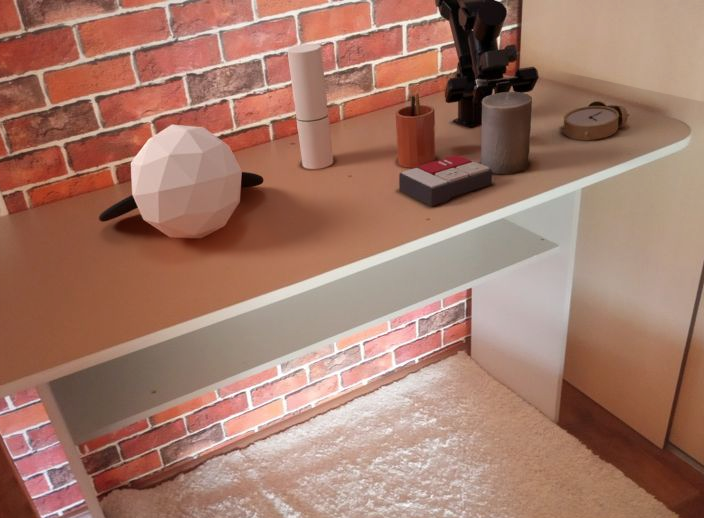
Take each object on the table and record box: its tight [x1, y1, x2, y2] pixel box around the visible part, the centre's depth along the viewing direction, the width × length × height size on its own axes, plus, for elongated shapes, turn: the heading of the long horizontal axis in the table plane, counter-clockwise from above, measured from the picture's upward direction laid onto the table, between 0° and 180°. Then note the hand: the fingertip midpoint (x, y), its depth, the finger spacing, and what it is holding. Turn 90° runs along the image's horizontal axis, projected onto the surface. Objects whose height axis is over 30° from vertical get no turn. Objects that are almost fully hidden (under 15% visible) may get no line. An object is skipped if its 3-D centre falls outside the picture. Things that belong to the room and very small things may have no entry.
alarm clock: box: [558, 100, 630, 141], centre depth 156 cm, size 11×5×15 cm
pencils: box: [410, 91, 421, 116], centre depth 151 cm, size 3×3×14 cm
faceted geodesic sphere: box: [98, 124, 265, 239], centre depth 138 cm, size 35×30×22 cm
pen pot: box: [395, 104, 436, 169], centre depth 152 cm, size 8×8×11 cm
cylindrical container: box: [286, 43, 334, 170], centre depth 154 cm, size 7×7×25 cm
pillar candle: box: [480, 91, 533, 175], centre depth 143 cm, size 10×10×15 cm
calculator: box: [398, 154, 493, 207], centre depth 141 cm, size 11×4×15 cm
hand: (497, 121), depth 148 cm, fingers closed
